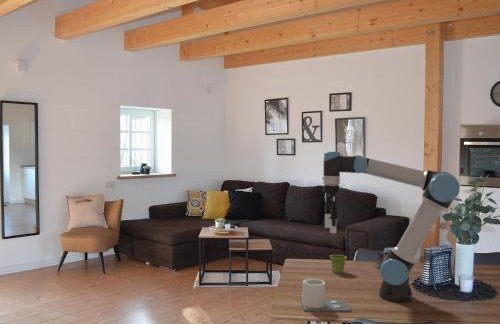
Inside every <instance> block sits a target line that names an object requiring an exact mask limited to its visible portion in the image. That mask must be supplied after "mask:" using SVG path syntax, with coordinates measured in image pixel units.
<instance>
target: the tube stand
mask: <svg viewBox="0 0 500 324" xmlns="http://www.w3.org/2000/svg"><path fill="white" fill-rule="evenodd" d="M307 279H308V278H307ZM307 279H304V280H302V298H300V303H301V306H302V310H303V311H304V312H334V313H335V312H336V313H337V312H338V313H339V312H345V313H348V312H349V313H350V312H351V307H349V305H348V304H347V301H346V300H345V299H326V281H324V280H323V279H317V278H315V279H316V280H317V281H318V285H312V284H307V283H305V282H306V280H307Z"/></svg>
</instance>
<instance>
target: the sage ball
mask: <svg viewBox="0 0 500 324" xmlns="http://www.w3.org/2000/svg"><path fill="white" fill-rule="evenodd" d="M316 279H317V278H314V277H310V278H307V280H306V279H305V280H306V282H305V283H307V284H312V285H318V281H317V280H316Z"/></svg>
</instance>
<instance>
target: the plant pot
mask: <svg viewBox="0 0 500 324" xmlns="http://www.w3.org/2000/svg"><path fill="white" fill-rule="evenodd" d="M329 258H330V261H331V271H332V272H333V273H335V274H343V273H344V270H345V264H346V260H347V258H348V257H347V255H343V254H330V255H329Z"/></svg>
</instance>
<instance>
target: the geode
mask: <svg viewBox="0 0 500 324" xmlns="http://www.w3.org/2000/svg"><path fill="white" fill-rule="evenodd" d="M383 260H384V254H383V253H381V252H380V251H379V252H377V257H376V262H375V268H376V269H378V270H380V268H381V265H382V263H383Z"/></svg>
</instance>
